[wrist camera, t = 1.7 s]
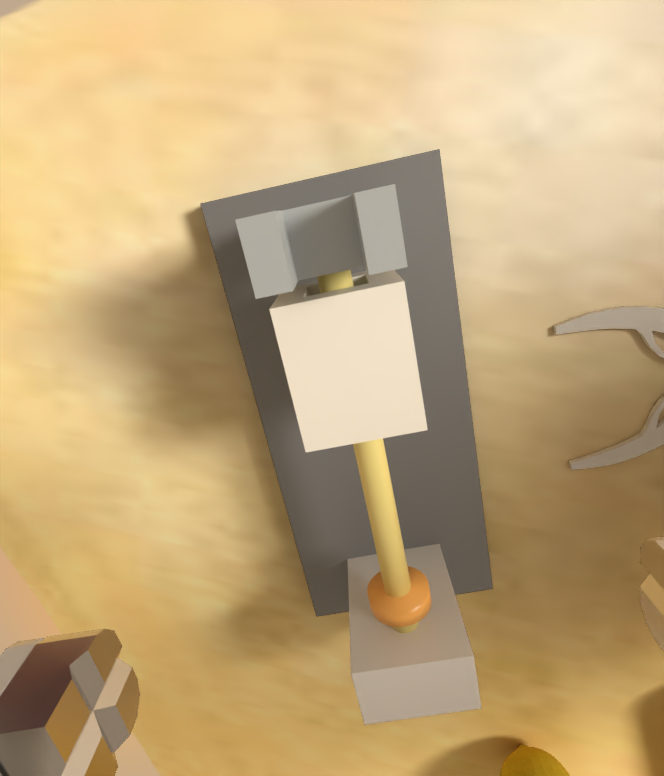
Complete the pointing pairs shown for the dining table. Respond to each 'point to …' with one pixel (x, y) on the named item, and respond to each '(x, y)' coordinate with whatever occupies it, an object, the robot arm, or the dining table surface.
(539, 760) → the lemon
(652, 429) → the pliers
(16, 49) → the dining table surface
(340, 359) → the sleeve
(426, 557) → the cord rig
